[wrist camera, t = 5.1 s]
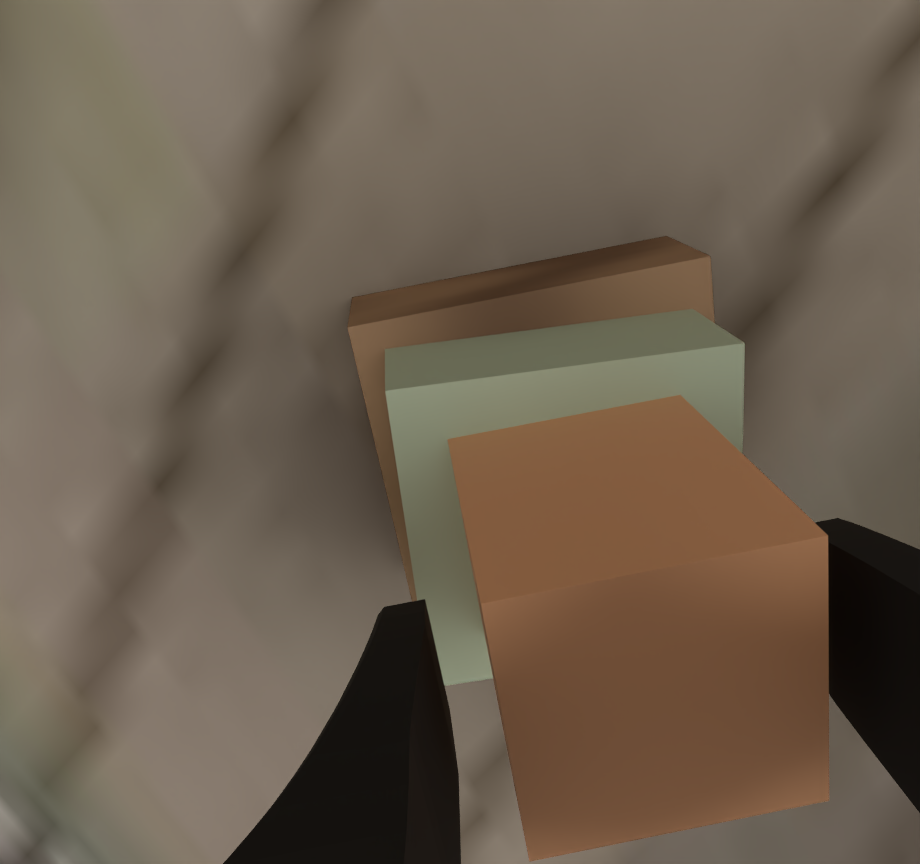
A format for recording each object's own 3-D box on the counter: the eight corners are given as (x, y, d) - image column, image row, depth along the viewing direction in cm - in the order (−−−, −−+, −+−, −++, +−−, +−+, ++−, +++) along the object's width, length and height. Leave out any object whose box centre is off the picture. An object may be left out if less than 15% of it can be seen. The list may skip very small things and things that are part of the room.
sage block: (692, 308, 16) (744, 342, 14) (694, 574, 18) (738, 642, 16) (385, 349, 16) (385, 390, 14) (424, 612, 18) (430, 687, 16)
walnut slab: (661, 233, 19) (710, 256, 16) (684, 508, 21) (730, 569, 18) (352, 293, 18) (347, 327, 16) (414, 562, 21) (419, 632, 18)
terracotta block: (679, 394, 14) (828, 535, 9) (694, 593, 16) (829, 801, 11) (447, 439, 14) (480, 604, 9) (484, 634, 15) (529, 861, 11)
